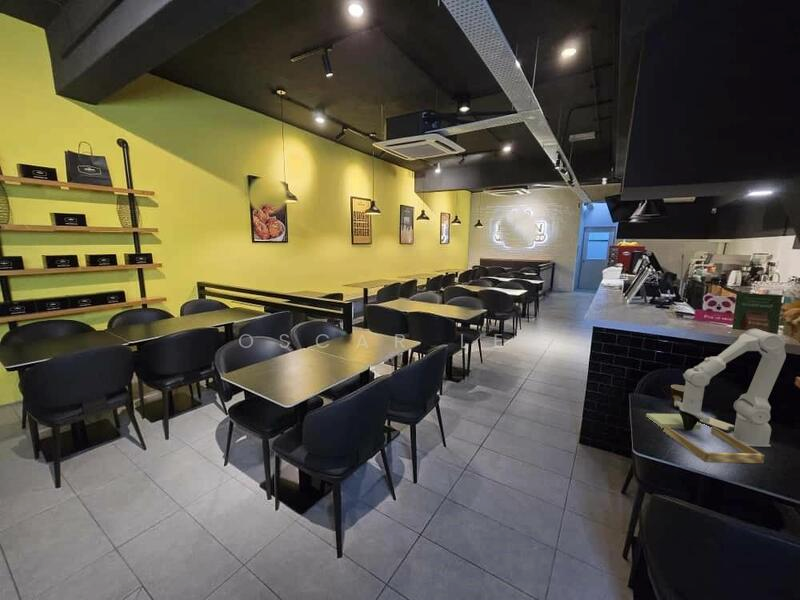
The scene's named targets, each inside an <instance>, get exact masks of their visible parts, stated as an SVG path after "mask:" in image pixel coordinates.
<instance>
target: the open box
mask: <svg viewBox="0 0 800 600" xmlns="http://www.w3.org/2000/svg"><path fill="white" fill-rule="evenodd" d="M662 432H663V433H664V432H665V433H666V434H665V433H664V434H665V435H667V436H668V435H669V436H670V437H669V436H668V437H669V438H671V439H672V438H673V439H672V440H674V441H675V442H676V441H677V442H676V443H678V444H679V443H680V445H681V446H682V445H683V446H682V447H684V448H685V449H686V448H687V449H686V450H688V451H689V450H690V451H689V452H690V453H692V452H693V453H694V454H693V453H692V454H693V455H695V456H696V457H698V458H699V459H700V458H701V459H700V460H701V461H703V460H704V461H703V462H705V461H706V462H705V463H734V464H735V463H740V464H745V463H746V464H764V462H765V459H766V458H765V457H766V454H764V453H761V452H759V451H757V450H756V449H754V448H753V447H752V446H748V445H746V444H744V443H742V442H741V441H739V440H737V439H735V438H734V437H732V436H730V435H728V434H729V433H725V432H723V431H721V430H720V429H718V428H716V427H712V428H710V434H711V435H713V436H714V437H716V438H718V439H720V440H721V441H723V442H724V443H726V444H728V445H729V446H731V447H733V448H734V449H736V450H738V451H740V452H714V451H713V452H711V451H710V452H708V451H706V450H704V449H702V448H701V447H700V446H698V445H696V444H695V443H694V442H692V441H691V440H689V439H688V438H686V437H685V436H683V435H681V434H680V433H679V432H677V431H676V430H675V429H671V428H670V427H668V426H667V425H664V429H663V431H662Z"/></svg>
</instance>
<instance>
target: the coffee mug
mask: <svg viewBox="0 0 800 600" xmlns="http://www.w3.org/2000/svg"><path fill="white" fill-rule="evenodd" d="M665 388H668V389H669V390H670V395H668V393H666V391H665ZM684 389H685V385H680V384H671V385H670V386H669V385H664V386H662V387H661V390H662V392H663V394H664V395H665V396H667V398H668V399H669V400H670V407H671V408H672V409H673V410H675V411H678V412H679V411H681V410H680V407H678V406H675V405H674V401H680V402H682V403H683V396H684Z"/></svg>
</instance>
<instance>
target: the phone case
mask: <svg viewBox="0 0 800 600" xmlns="http://www.w3.org/2000/svg"><path fill="white" fill-rule="evenodd" d="M706 416H707V415H706ZM707 417H709V418H710V421H709V423H704V422H702V420H700V421H699V422H698V423H699V424H700V423H701V425H703V424H705V425H707V426H706V427H708V426H709V427H708V428H711V427H716V428H718V429H720V430H721V431H723V432H725V433H727V434H730V433H731V432H734V428H735V424H731V423H728V422H725V421H722V420H720V419H716V418H713V417H710V416H707ZM705 425H704V426H705Z"/></svg>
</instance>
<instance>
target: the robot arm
mask: <svg viewBox="0 0 800 600" xmlns="http://www.w3.org/2000/svg"><path fill="white" fill-rule="evenodd" d="M786 343H787V342H786V341H785V340H784V339H783V338H782V337H781V336H780V335H778V334H776V333H772V332H768V331H765V330H761V329H759V328H750V329H747V331H745V332H744V333H742V334H740V335H739V337H738V339H737V340H736V341H734V343H732V344H730V345H729V346H728V347H727V348H726V349H724V350H723V351H722V352H721V353H719V354H718V355H717V356H709V357H705V358H704V360H703V361H702V362H700V363H699V364H697V365H695V366H694V367H693V368H688V369H687V370H686V371H685V372H684V373H682V376H683V378H684V380H685V384H684V386H685V389H684V396H683V403H682V402H680V401H674V405H675V406H678V407H680V410H681V411H678V414H680V415H681V418H682V420H683V425H684V429H683V430H685V431H686V432H693V430H694V429H693V428H694V426H695V425H696V424H697V422H699V421H700V420H702V422H704V423H709V421H710V418H709V417H710V416H708V417H707V415H706V414H705V413H704V412H703V411H702V405H703V399H704V393H705V387H706V386H709V384H710V382H711V381H710V380H711V379H712V378H713V377H714V376H716V375H718V374H719V373H720V372H722V371H723V370H725V369H727V363H729V362H731V361H732V360H734V359H736V358H737V357H739V356H741V355H743V354H745V353H746V352H759V354H760V355H761V358H760V361H759V363H758V366H757V368H756V371H755V373H754V375H753V378H752V381H751V382H750V385H749V388H748V389H747V392H746V393H743V394H741V395H740V396H739V398H738V399H737V400H735V401H734V403H733V410H735V411H736V417H735V423H734V426H735V428H734V430H733V433H727V434H728V435H730V436H732V437H734V438H735V439H737V440H739V441H741V442H742V443H744V444H746V445H748V446H749V447H758V448H759V447H764V448H768V447H769V448H771V446H772V445H771V444H770V438H771V433H772V428H771V425H770V424H769V423H768V422H769V421H770V420H771V409H772V406H771V405H770V403H769V400H768V399H769V397H770V394H771V392H772V390H773V387H774V385H775V383H776V381H777V378H778V377H779V374H780V372H781V369H782V367H783V365H784V363H785V360H786V357H787V354H786V349H785V345H786Z"/></svg>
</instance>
